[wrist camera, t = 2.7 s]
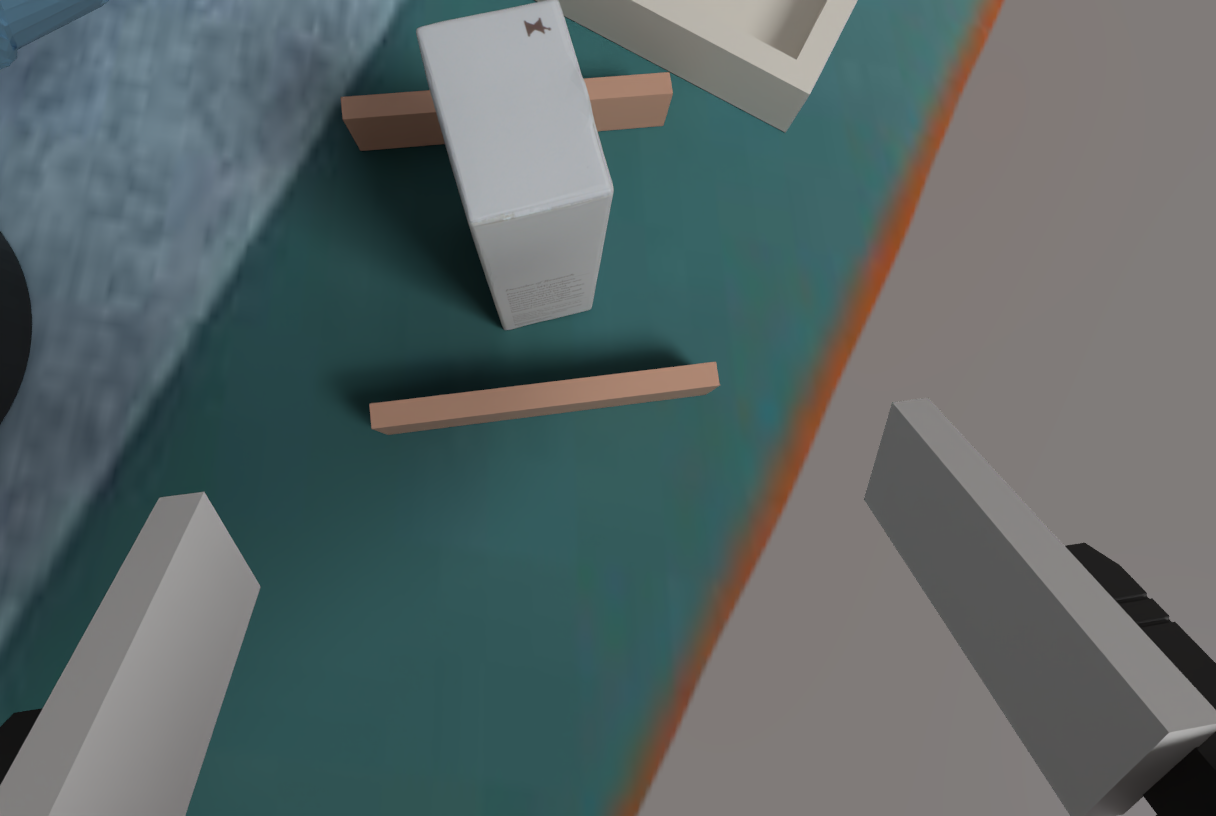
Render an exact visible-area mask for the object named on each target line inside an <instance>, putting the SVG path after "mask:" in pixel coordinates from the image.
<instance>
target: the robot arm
mask: <svg viewBox="0 0 1216 816" xmlns="http://www.w3.org/2000/svg"><path fill="white" fill-rule="evenodd" d="M107 1H109V0H0V69H2V68H5V67H7V66H10V64H11V63H12V62H13V61H14V60H15V59H16V58H17V50H18V49H19V48H21V47H23V46H25V45H27V44H29V43H31V42H33V41H35V40H37V39H39V38H41V37H43V36H45V35H46V34H48V33H50V32H52V31H54V30H56V29H58V28H60V27H62V26H64V25H66V24H68V23H70V22H72V21H74V20H76V19H78V18H80V17H82V16H84V15H86V14H88V13H90V12H92V11H94V10H96V9H98V8H100V7H101V6H103V5H104V4H105V3H106V2H107ZM31 334H32V314H31V304H30V298H29V293H28V288H27V284H26V281H25V277H24V275H23V272H22V269H21V266H20V264H19V262H18V260H17V258H16V256H15V254H14V252H13V250H12V248H11V247H10V245H9V243H8V242H7V240H6V239H5V238H4V236H3V235H2V233H1V232H0V424H1V422H2V421H3V419H4V417H5V416H6V414H7V412H8V411H9V409H10V407H11V405H12V403H13V401H14V399H15V397H16V395H17V392H18V390H19V387H20V385H21V382H22V379H23V376H24V373H25V370H26V366H27V361H28V357H29V352H30V345H31ZM864 500H865V501H866V503H867V504H868V506H869V508H870V509H871V511H872V512H873V514H874V515H875V517H876V518H877V520H878V521H879V523H880V524H881V526H882V527H883V529H884V530H885V532H886V534H887V535H888V537H889V538H890V540H891V541H892V543H893V544H894V546H895V547H896V549H897V551H898V552H899V554H900V555H901V557H902V558H903V560H904V561H905V563H906V564H907V566H908V567H909V569H910V571H911V572H912V573H913V575H914V577H915V578H916V580H917V581H918V583H919V584H920V586H921V587H922V589H923V590H924V592H925V593H926V595H927V597H928V598H929V600H930V601H931V603H932V604H933V606H934V607H935V609H936V610H937V612H938V613H939V615H940V617H941V618H942V619H943V621H944V623H945V624H946V626H947V627H948V629H949V630H950V632H951V633H952V635H953V636H954V638H955V639H956V641H957V643H958V644H959V645H960V647H961V649H962V650H963V652H964V653H965V655H966V656H967V658H968V659H969V661H970V663H971V664H972V666H973V667H974V669H975V670H976V672H977V673H978V675H979V676H980V678H981V679H982V681H983V682H984V684H985V685H986V687H987V689H988V690H989V692H990V693H991V695H992V696H993V698H994V699H995V701H996V702H997V704H998V705H999V707H1000V709H1001V710H1002V711H1003V713H1004V715H1005V716H1006V718H1007V719H1008V721H1009V722H1010V724H1011V725H1012V727H1013V729H1014V730H1015V732H1016V733H1017V735H1018V736H1019V738H1020V739H1021V741H1022V742H1023V744H1024V745H1025V747H1026V748H1027V750H1028V752H1029V753H1030V755H1031V756H1032V758H1033V759H1034V761H1035V762H1036V764H1037V765H1038V767H1039V768H1040V770H1041V772H1042V773H1043V774H1044V776H1045V777H1046V779H1047V781H1048V782H1049V784H1050V785H1051V787H1052V788H1053V790H1054V791H1055V793H1056V794H1057V796H1058V797H1059V799H1060V801H1061V802H1062V804H1063V805H1064V807H1065V808H1066V810H1067V811H1068V813H1069V814H1070V816H1116V815H1122V814H1124V813H1125V812H1126V811H1128V810H1129V809H1130V808H1131V807H1132V806H1133V805H1134V804H1135V803H1136V802H1137V801H1139V800H1140V799H1141V798H1142V797H1143V796H1144V797H1145V799H1146V800H1147V801H1148V803H1149V804H1150V805H1151V807H1152V808H1153V809H1154V811H1155V812H1156V813H1157V815H1156V816H1216V663H1215V662H1214V661H1213V660H1212V659H1211V658H1210V657H1209V656H1208V655H1207V654H1206V653H1205V652H1204V651H1203V650H1202V649H1201V648H1200V647H1199V646H1198V645H1197V644H1196V643H1195V642H1194V641H1193V640H1192V639H1191V638H1190V637H1189V636H1188V635H1187V634H1186V633H1185V632H1184V631H1183V630H1182V629H1181V627H1180V626H1179V625H1178V624H1177V623H1175V622H1171V621H1170V620H1169V615H1168V614H1167V613H1166V612H1165V611H1164V610H1163V609H1162V608H1161V607H1160V606H1159V605H1158V604H1157V603H1156V602H1155V601H1154V600H1153V599H1149V598H1148V597H1147V595H1146V594H1147V593H1146V592H1145V591H1144V590H1143V589H1142V588H1141V587H1140V586H1139V584H1137V583H1136V581H1135V580H1134V579H1133V578H1131V576H1130V575H1129V574H1128V573H1127V572H1126V571H1125V570H1124V569H1123V568H1122V567H1121V566H1120V565H1119V564H1117V563H1115V562H1114V561H1112V560H1111V559H1109V558H1107V557H1106V556H1105V555H1103V554H1101V553H1100V552H1098V551H1097V550H1095V549H1093V548H1092V547H1090V546H1089V545H1087V544H1086V543H1080V544H1074V545H1067V546H1064V545H1063V543H1062V542H1061V541H1059V539H1058V538H1057V537H1056V536H1055V535H1054V534H1053V533H1052V532H1051V530H1049V528H1048V527H1046V525H1045V524H1044V523H1043V522H1042V521H1041V520H1040V519H1039V517H1038V516H1037V515H1036V514H1035V513H1034V512H1033V511H1032V510H1031V509H1030V508H1029V507H1028V506H1027V504H1026V503H1025V502H1024V501H1023V500H1022V499H1021V498H1020V497H1019V496H1018V495H1017V494H1016V492H1014V490H1013V489H1012V488H1011V487H1010V486H1009V485H1008V484H1007V483H1006V482H1005V481H1004V479H1003V478H1002V477H1001V476H1000V475H999V474H998V473H997V472H996V471H995V470H994V469H993V467H992V466H991V465H990V464H989V463H988V462H987V461H986V460H985V459H984V458H983V457H982V456H981V455H980V453H979V452H978V451H977V450H976V449H975V448H974V447H973V446H972V445H971V444H970V443H969V441H968V440H967V439H966V438H965V437H964V436H963V435H962V434H961V433H960V432H959V431H958V430H957V429H956V427H955V426H954V425H953V424H952V423H951V422H950V421H949V420H948V419H947V418H946V416H945V415H944V414H943V413H942V412H941V411H940V410H939V409H938V408H937V407H936V406H935V405H934V403H933V402H932V401H931V400H930V399H929V398H921V399H914V400H907V401H899V402H892V405H891V408H890V412H889V415H888V419H887V422H886V425H885V429H884V432H883V436H882V439H881V443H880V446H879V450H878V453H877V457H876V460H875V463H874V467H873V470H872V474H871V477H870V480H869V484H868V488H867V491H866V494H865V498H864ZM259 590H260V585H259V583H258V582H257V580H256V578H255V577H254V575H253V573H252V571H251V570H250V568H249V566H248V565H247V563H246V561H245V560H244V558H243V556H242V555H241V553H240V551H239V550H238V548H237V546H236V545H235V543H234V541H233V539H232V538H231V536H230V534H229V533H228V531H227V529H226V528H225V526H224V524H223V523H222V521H221V519H220V518H219V516H218V514H217V512H216V511H215V509H214V507H213V506H212V504H211V502H210V501H209V499H208V497H207V496H206V494H205V492H199V493H191V494H183V495H176V496H168V497H160V498H159V499H158V501H157V503H156V505H155V506H154V508H153V510H152V512H151V514H150V515H149V517H148V519H147V521H146V523H145V524H144V526H143V528H142V530H141V532H140V534H139V535H138V537H137V539H136V541H135V543H134V544H133V546H132V548H131V550H130V552H129V553H128V555H127V557H126V559H125V561H124V562H123V564H122V566H121V568H120V570H119V572H118V573H117V575H116V577H115V579H114V581H113V582H112V584H111V586H110V588H109V590H108V591H107V593H106V595H105V597H104V599H103V600H102V602H101V604H100V606H99V608H98V610H97V611H96V613H95V615H94V617H93V619H92V620H91V622H90V624H89V626H88V628H87V629H86V631H85V633H84V635H83V637H82V638H81V640H80V642H79V644H78V646H77V647H76V649H75V651H74V653H73V655H72V657H71V658H70V660H69V662H68V664H67V666H66V667H65V669H64V671H63V673H62V675H61V676H60V678H59V680H58V682H57V684H56V685H55V687H54V689H53V691H52V693H51V695H50V696H49V698H48V700H47V702H46V704H45V705H44V707H43V709H36V710H30V711H23V712H17V713H14V714H13V715H12V716H11V717H10V718H9V719H8V720H7V721H6V722H5V723H4V724H3V725H2V726H1V727H0V816H185V814H186V811H187V808H188V805H189V802H190V799H191V796H192V793H193V790H194V787H195V784H196V781H197V778H198V775H199V772H200V769H201V766H202V763H203V760H204V757H205V754H206V751H207V748H208V745H209V742H210V739H211V735H212V732H213V729H214V726H215V723H216V720H217V717H218V714H219V711H220V708H221V705H222V702H223V699H224V696H225V693H226V690H227V687H228V684H229V681H230V678H231V675H232V672H233V669H234V666H235V663H236V660H237V657H238V654H239V650H240V647H241V644H242V641H243V638H244V635H245V632H246V629H247V626H248V623H249V620H250V617H251V614H252V611H253V608H254V605H255V602H256V599H257V596H258V593H259Z"/></svg>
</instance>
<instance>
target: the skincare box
mask: <svg viewBox="0 0 1216 816" xmlns="http://www.w3.org/2000/svg"><path fill="white" fill-rule="evenodd" d="M416 35H417V39H418V43H419V47H420V52H421V56H422V60H423V64H424V69H425V73H426V77H427V81H428V85H429V89H430V93H431V96H432V100H433V103H434V107H435V110H436V113H437V118H438V121H439V124H440V128H441V132H442V135H443V138H444V142H445V146H446V149H447V153H448V156H449V160H450V163H451V167H452V170H453V174H454V177H455V180H456V184H457V187H458V191H459V194H460V197H461V201H462V204H463V208H464V211H465V214H466V218H467V221H468V224H469V227H470V231H471V234H472V237H473V240H474V243H475V246H476V249H477V252H478V255H479V258H480V261H481V264H482V267H483V270H484V274H485V277H486V280H487V283H488V286H489V289H490V292H491V294H492V297H493V300H494V304H495V307H496V309H497V312H498V315H499V318H500V321H501V324H502V327H503V329H504V330H511V329H515V328H518V327H522V326H525V325H529V324H533V323H537V322H541V321H546V320H550V319H554V318H558V317H563V316H567V315H571V314H575V313H579V312H583V311H587V310H590V309H591V308H592V303H593V298H594V292H595V287H596V281H597V276H598V271H599V266H600V261H601V255H602V250H603V244H604V239H605V233H606V229H607V223H608V218H609V212H610V206H611V202H612V196H613V184H612V180H611V177H610V174H609V170H608V167H607V163H606V160H605V157H604V153H603V150H602V146H601V142H600V139H599V136H598V132H597V129H596V125H595V121H594V117H593V113H592V108H591V103H590V98H589V94H588V91H587V87H586V84H585V81H584V79H583V77H582V74H581V71H580V68H579V64H578V61H577V58H576V54H575V51H574V48H573V44H572V41H571V38H570V35H569V31H568V28H567V25H566V22H565V18H564V15H563V12H562V9H561V6H560V3H559V1H558V0H546V1H541V2H537V3H532V4H527V5H523V6H518V7H513V8H508V9H503V10H498V11H493V12H488V13H482V14H477V15H473V16H468V17H462V18H457V19H452V20H447V21H443V22H439V23H434V24H430V25H426V26H423V27H419V28H417V30H416Z"/></svg>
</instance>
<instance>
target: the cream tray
mask: <svg viewBox="0 0 1216 816" xmlns="http://www.w3.org/2000/svg"><path fill="white" fill-rule="evenodd" d="M535 1H537V2H541V1H546V0H535ZM558 1H559V3H560V6H561V9H562V12H563V15H564V16H565V17H567V18H569V19H571V20H573V21H575V22H577V23H579V24H580V25H582V26H584V27H586V28H588V29H590V30H592V31H594V32H596V33H597V34H599V35H601V36H603V37H605V38H607V39H609V40H611V41H613V42H615V43H616V44H618V45H620V46H622V47H624V48H626V49H628V50H630V51H632V52H633V53H635V54H637V55H639V56H641V57H643V58H645V59H647V60H649V61H651V62H652V63H654V64H656V65H658V66H660V67H662V68H664V69H666V70H668V71H669V72H671V73H673V74H675V75H677V76H679V77H681V78H683V79H685V80H687V81H688V82H690V83H692V84H694V85H696V86H698V87H700V88H702V89H704V90H706V91H707V92H709V93H711V94H713V95H715V96H717V97H719V98H721V99H723V100H724V101H726V102H728V103H730V104H732V105H734V106H736V107H738V108H740V109H742V110H743V111H745V112H747V113H749V114H751V115H753V116H755V117H757V118H759V119H760V120H762V121H764V122H766V123H768V124H770V125H772V126H774V127H776V128H778V129H779V130H781V131H783V132H785V133H786V131H787V129H788V128H789V126H790V125H791V123H792V122H793V120H794V118H795V117H796V115H797V114H798V112H799V111H800V109H801V107H802V106H803V104H804V103H805V101H806V100H807V98H808V96H809V95H810V93H811V91H812V89H813V87H814V85H815V83H816V81H817V79H818V77H819V75H820V73H821V71H822V69H823V67H824V65H825V63H826V61H827V59H828V57H829V55H830V54H831V52H832V50H833V48H834V46H835V44H836V42H837V40H838V38H839V36H840V34H841V32H842V30H843V28H844V26H845V24H846V22H847V20H848V18H849V16H850V14H851V12H852V10H853V8H854V6H855V4H856V2H857V0H558Z"/></svg>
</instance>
